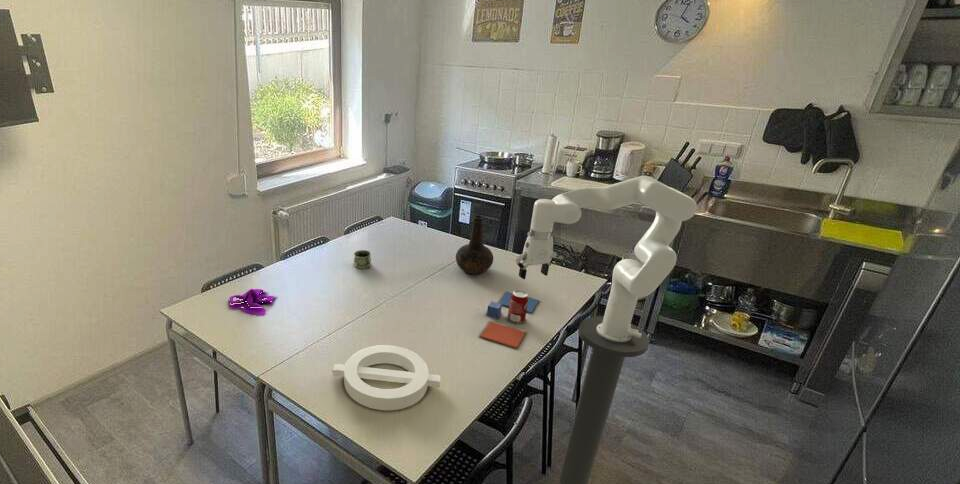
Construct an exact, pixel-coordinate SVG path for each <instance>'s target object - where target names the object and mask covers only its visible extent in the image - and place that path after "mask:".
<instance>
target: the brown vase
mask: <svg viewBox="0 0 960 484" xmlns="http://www.w3.org/2000/svg"><path fill="white" fill-rule="evenodd" d="M483 222H484V216H482V215H479V214H476V215H475V214H474V215H473V218H471V223H472V227H471V234H470V239H469V241H468V244H464V245H462V246H461V247H459V248H458V249H457V251H456V253H455V262H456V264H457V266H458V267H459V269H460V270H461V271H463V272H465V273H467V274H471V275H472V274H473V275H479V274H482V273H485V272H487V271H488V270H490V268H491V267H492V265H493V262H494V254H493V252H492V251H491V249H490V248H488V247H487V246H485V245H484V240H483V239H484V238H483Z"/></svg>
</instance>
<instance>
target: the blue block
mask: <svg viewBox="0 0 960 484" xmlns="http://www.w3.org/2000/svg"><path fill="white" fill-rule="evenodd" d="M502 308H503V306H502V304H500V303H499V302H496V301H490V302H489V304H488V305H487V312H486V316H488V317H491V318H494V319H498V318H499V317H500V315H501V313H502Z"/></svg>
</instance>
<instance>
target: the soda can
mask: <svg viewBox="0 0 960 484" xmlns="http://www.w3.org/2000/svg"><path fill="white" fill-rule="evenodd" d="M512 293H513V294H512V295H511V299H510V305H509V307H508V312H507V319H508V320H509V321H511V322H512V323H517V324H519V323H523V322H525V320H526V316H527V312H526V311H527V305H528V297H529V296H528V293H527V292H526V291H524V290H520V289H519V290H514V291H513V292H512Z"/></svg>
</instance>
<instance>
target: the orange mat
mask: <svg viewBox="0 0 960 484" xmlns="http://www.w3.org/2000/svg"><path fill="white" fill-rule="evenodd" d="M525 335H526V331H524V330H520V329H517V328H513V327H511V326H508V325H507V326H506V325H503V324H501V323H497V322H493V321H490V322H489V323H488V325H487V326H486V328H485V329H484V330H483V332H482V333H481V334H480V336H479V338H482V339H485V340H488V341H492V342H495V343H497V344H500V345H504V346H507V347H511V348H514V349H518V346H519V345H520V344H521V342H522V340H523V338H525V337H524V336H525Z"/></svg>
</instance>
